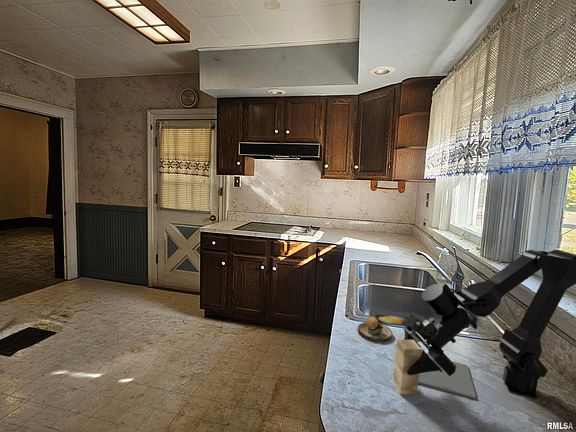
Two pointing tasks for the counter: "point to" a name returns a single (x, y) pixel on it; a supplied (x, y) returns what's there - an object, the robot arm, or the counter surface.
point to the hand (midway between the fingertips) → (402, 365)
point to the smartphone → (390, 319)
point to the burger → (374, 331)
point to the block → (406, 366)
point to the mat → (450, 381)
